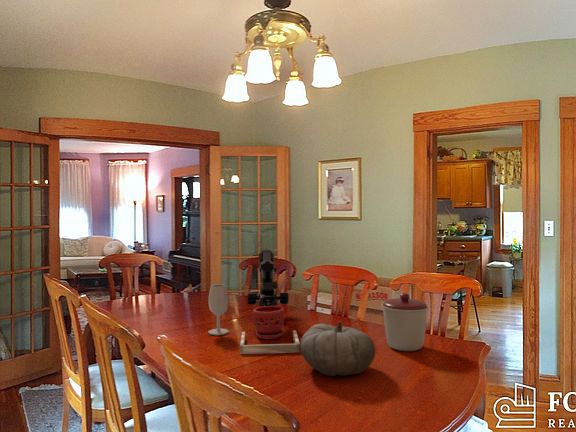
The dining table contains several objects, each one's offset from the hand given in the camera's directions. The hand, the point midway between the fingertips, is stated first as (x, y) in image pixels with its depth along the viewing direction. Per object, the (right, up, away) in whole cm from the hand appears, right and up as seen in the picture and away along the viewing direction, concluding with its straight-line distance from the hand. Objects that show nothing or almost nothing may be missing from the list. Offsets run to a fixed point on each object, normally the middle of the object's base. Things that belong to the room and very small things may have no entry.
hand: (268, 314), depth 196 cm
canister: (+54, -7, -25) cm, 60 cm away
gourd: (+25, -8, -48) cm, 55 cm away
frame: (+1, -7, -21) cm, 22 cm away
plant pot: (+1, -8, -9) cm, 12 cm away
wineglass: (-22, -8, -3) cm, 23 cm away
